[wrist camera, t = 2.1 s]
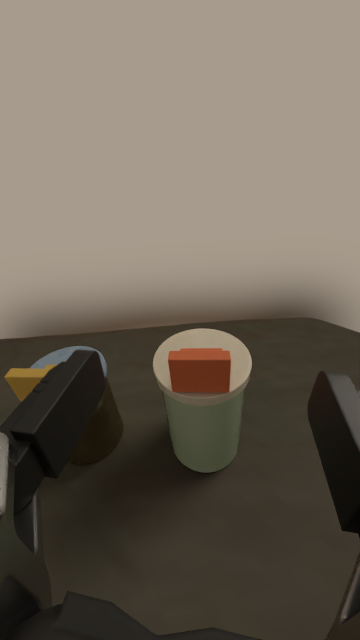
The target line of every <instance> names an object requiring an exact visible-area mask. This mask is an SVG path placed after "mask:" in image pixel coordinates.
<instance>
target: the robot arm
mask: <svg viewBox="0 0 360 640" xmlns="http://www.w3.org/2000/svg"><path fill="white" fill-rule="evenodd" d="M105 386H106V380H105V376H104V372H103V368H102V364H101V360H100V356H99V353H98V352H97V351H91V350H79V349H78V350H75V351H74V352H73V353H72V355H71V356H70V357H69V358H68V359H67V361H66V362H64V361H62V362H61V363H59V364H58V365H56V366H55V367H53V368H52V369H50V370H49V371H48V372H47V373H46V375H45V376H44V377H43V378H42V379H41V380H40V383H38V384H37V385H36V386H35V387H34V388H33V390H32V392H30V393H29V394H28V395H27V397H26V398H25V399H24V400H23V401H22V402H21V404H20V405H19V406H18V407H17V408H16V409H15V410H14V412H13V413H12V414H11V415H10V416H9V417H8V419H7V420H6V421H5V422H4V423H3V424H2V425H1V427H0V640H260V639H256V638H252V637H248V636H244V635H240V634H236V633H232V632H228V631H224V630H220V629H216V628H206V629H199V630H193V631H186V632H180V633H174V634H167V635H156V634H154V633H152V632H151V631H150V630H148V629H147V628H145V627H144V626H143V625H141V624H140V623H139V622H137V621H136V620H135V619H133V618H132V617H131V616H129V615H128V614H127V613H125V612H124V611H123V610H121V609H120V608H119V607H117V606H116V605H115V604H113V603H112V602H109V601H105V600H101V599H97V598H93V597H89V596H85V595H81V594H77V593H73V592H69V591H67V593H66V596H65V598H64V601H63V604H59V605H56V606H53V607H52V595H51V585H50V579H49V574H48V571H47V568H46V565H45V561H44V555H43V539H42V518H41V497H40V488H39V485H40V483H41V482H42V480H43V478H44V477H50V478H56V479H58V477H59V475H60V473H61V471H62V470H63V468H64V466H65V464H66V462H67V460H68V459H69V457H70V455H71V453H72V451H73V449H74V448H75V446H76V444H77V442H78V440H79V438H80V436H81V435H82V433H83V431H84V429H85V427H86V425H87V424H88V422H89V420H90V418H91V416H92V414H93V413H94V411H95V409H96V407H97V405H98V403H99V402H100V400H101V398H102V396H103V394H104V391H105ZM308 419H309V422H310V426H311V429H312V432H313V436H314V439H315V442H316V446H317V449H318V452H319V456H320V459H321V462H322V466H323V469H324V472H325V476H326V479H327V482H328V485H329V489H330V492H331V495H332V499H333V502H334V505H335V509H336V512H337V515H338V519H339V522H340V525H341V529H342V531H347V532H353V533H358V535H359V538H360V391H358V390H356V388H355V386H354V384H353V383H352V381H351V379H350V377H349V376H348V375H347V374H346V373H336V372H325V371H320V372H319V373H318V375H317V378H316V381H315V384H314V387H313V390H312V393H311V395H310V398H309V401H308ZM325 640H360V552H359V555H358V558H357V561H356V563H355V566H354V569H353V572H352V574H351V577H350V580H349V583H348V585H347V588H346V591H345V594H344V596H343V599H342V602H341V605H340V607H339V610H338V613H337V616H336V618H335V621H334V623H333V625H332V628H331V629H330V631H329V633H328V635H327V636H326V638H325Z"/></svg>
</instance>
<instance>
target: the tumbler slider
mask: <svg viewBox="0 0 360 640" xmlns="http://www.w3.org/2000/svg"><path fill="white" fill-rule="evenodd" d="M55 366H56V365H46V367H45V368H44V369H10V371H9V372H8V373H7V374H6V375H5V377H4V378H5V379H6V381H7V382H8V383H9V385H10V386H11V388H12V389H13V391H14V392H15V393H16V395H17V396H18V398H19V399H20V401H21V402H22V401H23V400H24V399H25V398H26V397H27V395H28V394H29V393H30V392H32V390H33V388H34V387H35V386H36V385H37V384H38V383H40V380H41V379H42V378H43V377H44V376H45V375H46V373H47V372H48V371H49V370H50V369H52V368H53V367H55Z"/></svg>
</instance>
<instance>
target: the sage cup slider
mask: <svg viewBox="0 0 360 640" xmlns="http://www.w3.org/2000/svg"><path fill="white" fill-rule="evenodd" d="M168 365H169V372H170V379H171V385H172V391H173V392H208V393H229V392H230V372H231V355H230V351H229V350H225V351H223V350H222V348H181V349H180V351H169V355H168Z"/></svg>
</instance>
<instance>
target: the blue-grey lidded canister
mask: <svg viewBox="0 0 360 640" xmlns="http://www.w3.org/2000/svg"><path fill="white" fill-rule="evenodd" d="M78 349H79V350H91V351H97V350H96V349H93V348H91V347H86V346H74V347H68V348H64V349H60V350H57V351H55V352H53V353H50V354H48V355H46V356H45V357H43V358H41V359H40V360H38V361H37V362H36V363H35V364H33V365H32V366H31V367H30V368H29V369H44V368H45V367H46V365H58V364H59V363H61V362H62V361H64V362H66V361H67V359H68V358H69V357H70V356H71V355H72V353H73V352H74V351H75V350H78ZM97 352H98V353H99V356H100V360H101V364H102V368H103V372H104V376H105V380H106V386H105V391H104V394H103V396H102V398H101V400H100V402H99V403H98V405H97V407H96V409H95V411H94V413H93V414H92V416H91V418H90V420H89V422H88V424H87V425H86V427H85V429H84V431H83V433H82V435H81V436H80V438H79V440H78V442H77V444H76V446H75V448H74V449H73V451H72V453H71V455H70V457H69V459H68V461H70V462H72V463H74V464H78V465H86V464H91V463H95V462H97V461H99V460H101V459H103V458H104V457H106V456H107V455H108V454H109V453H111V452H112V451H113V449H114V448H115V447H116V446H117V444H118V442H119V441H120V439H121V436H122V432H123V422H122V419H121V416H120V413H119V410H118V407H117V405H116V402H115V399H114V396H113V393H112V391H111V388H110V385H109V382H108V379H107V377H106V374H107V366H106V362H105V359H104V357H103V355H102V354H101V353H100V352H99V351H97Z"/></svg>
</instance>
